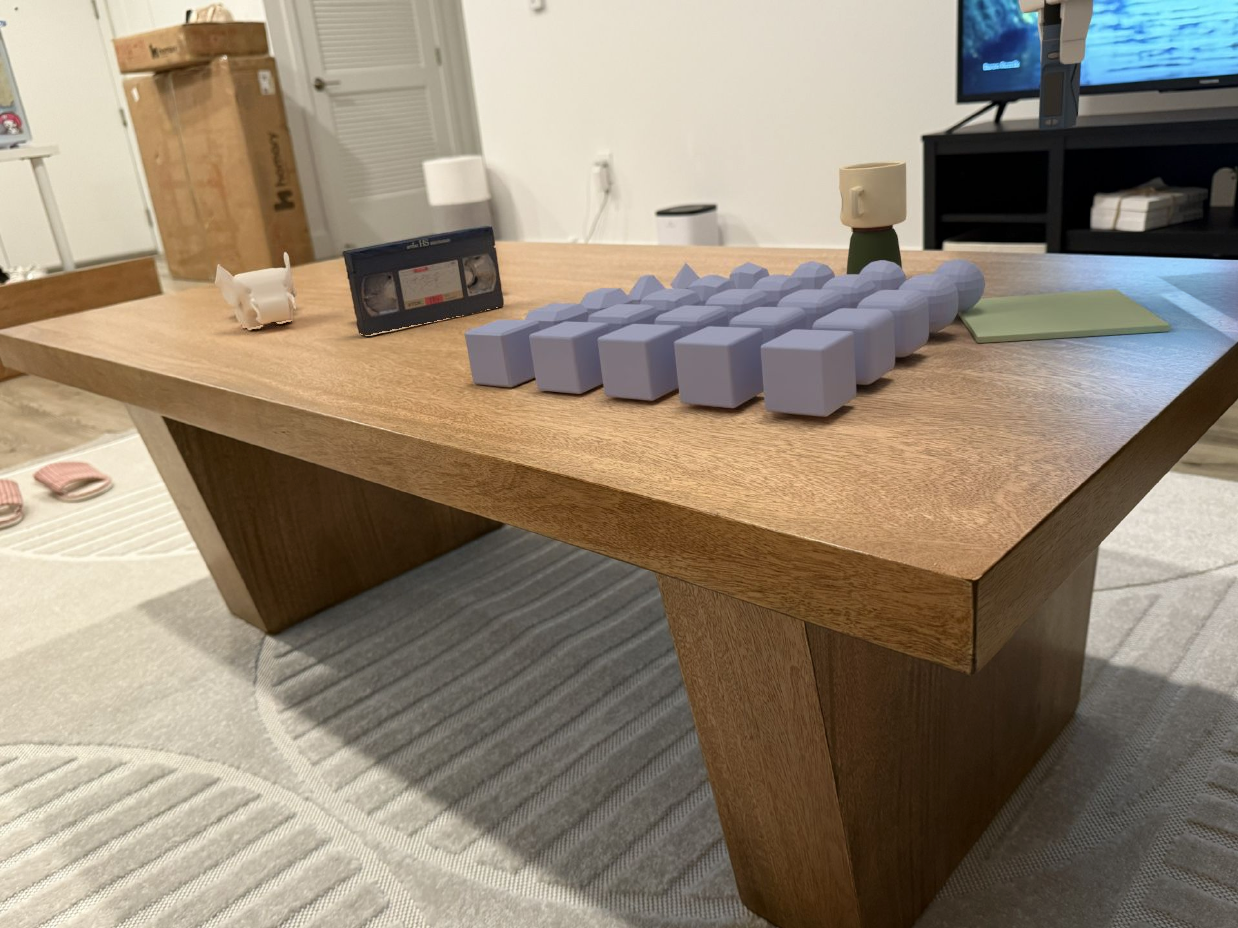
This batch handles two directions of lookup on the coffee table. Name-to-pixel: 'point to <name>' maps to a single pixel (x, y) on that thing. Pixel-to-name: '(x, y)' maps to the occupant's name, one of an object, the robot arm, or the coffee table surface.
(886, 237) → the character mug
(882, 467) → the coffee table surface
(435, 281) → the vhs cassette tape
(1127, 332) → the mat
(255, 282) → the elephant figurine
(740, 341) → the blocks
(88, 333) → the coffee table surface
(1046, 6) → the vaping device
